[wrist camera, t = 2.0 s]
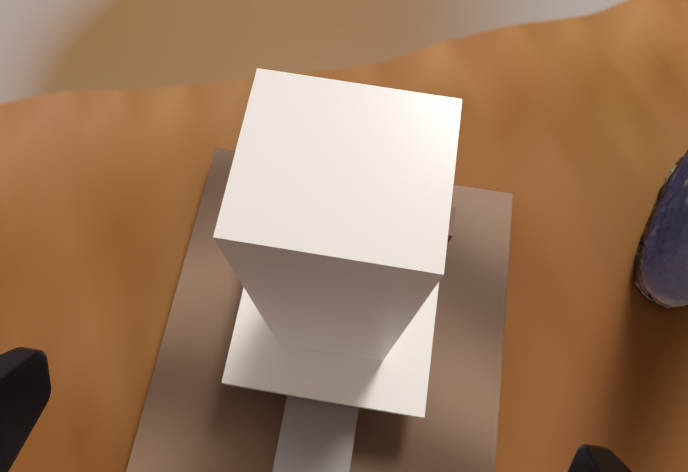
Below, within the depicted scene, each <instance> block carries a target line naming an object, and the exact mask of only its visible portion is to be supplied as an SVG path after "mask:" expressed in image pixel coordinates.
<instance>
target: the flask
mask: <svg viewBox="0 0 688 472" xmlns="http://www.w3.org/2000/svg"><path fill="white" fill-rule="evenodd" d="M677 163H678V164H677V165H676V166H675V167H674V168H672V169H671V173H669V175H668V176H667V180H666V182H665V184H663V186H662V187H661V189H660V192H661V193H660V195H659V198H658V201H657V202H656V204H655V205H654V208H653V211H652V214H651V216H650V217H649V221H648V222H647V228H646V229H645V231H644V234H642V236H643V237H642V238H641V243H640V246H639V248H638V250H637V254H636V255H635V256H636V259H635V262H636V265H635V271H634V272H635V273H634V277H636V282H635V284H636V285H637V287H638V288H639V289H640V291H641V293H642V294H643V295H644V296H645V297H646V298H647V299H649V300H651V301H653V300H654V301H655V303H656V304H658V305H661V306H664V307H666V308H672V307H682V306H685V305H688V150H687V151H686V153H685V154H684V155H683V156H682V157H681V158H679V160H678V161H677ZM647 292H648V293H649V294H650V295H651V296H652V297H651V298H652V299H653V300H652V299H651V298H649V296H648V293H647ZM654 301H653V302H654Z"/></svg>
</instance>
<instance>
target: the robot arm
mask: <svg viewBox="0 0 688 472" xmlns="http://www.w3.org/2000/svg"><path fill="white" fill-rule="evenodd" d="M50 393H51V383H50V376H49V369H48V362H47V356H46V354H45V353H44V352H43V351H41V350H37V349H31V348H25V347H18V348H15V349H13V350H10V351H8V352H6V353H3V354H1V355H0V472H8V471H9V470H10V468H11V466H12V464H13V463H14V461H15V459H16V457H17V455H18V454H19V452H20V450H21V448H22V447H23V445H24V443H25V441H26V440H27V438H28V436H29V434H30V433H31V431H32V429H33V427H34V425H35V424H36V422H37V420H38V418H39V417H40V415H41V413H42V411H43V410H44V408H45V406H46V404H47V402H48V400H49V397H50ZM568 472H632V471H631V470H630V469H629V468H628V467H627V466H626V465H625V464H624V463H623V462H622V461H621V460H620V459H619V458H618V457H617V456H616V455H615V454H614V453H613V452H611V451H610V450H609V449H607V448H605V447H600V446H594V445H588V444H583V445H581V446H580V447H579V448H578V449H577V451H576V454H575V456H574V458H573V460H572V463H571V465H570V467H569V470H568Z"/></svg>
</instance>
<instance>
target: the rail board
mask: <svg viewBox="0 0 688 472" xmlns="http://www.w3.org/2000/svg"><path fill="white" fill-rule="evenodd" d="M234 155H235V151H234V150H228V149H222V148H215V151H214V155H213V159H212V162H211V166H210V170H209V173H208V177H207V180H206V184H205V188H204V191H203V195H202V198H201V202H200V206H199V209H198V213H197V217H196V220H195V224H194V227H193V231H192V235H191V238H190V242H189V246H188V249H187V253H186V256H185V260H184V264H183V267H182V271H181V274H180V278H179V282H178V285H177V289H176V293H175V296H174V300H173V303H172V307H171V311H170V314H169V318H168V322H167V325H166V329H165V332H164V336H163V340H162V343H161V347H160V350H159V354H158V358H157V361H156V365H155V369H154V372H153V376H152V379H151V383H150V387H149V390H148V394H147V397H146V401H145V405H144V408H143V412H142V416H141V419H140V423H139V426H138V430H137V434H136V437H135V441H134V445H133V448H132V452H131V455H130V459H129V463H128V466H127V470H126V472H495V465H496V449H497V434H498V418H499V402H500V387H501V371H502V355H503V339H504V324H505V308H506V292H507V277H508V261H509V245H510V230H511V214H512V198H513V194H510V193H503V192H497V191H491V190H484V189H478V188H471V187H465V186H459V185H453V193H452V202H451V212H450V221H449V231H448V240H447V250H446V259H445V269H444V275H443V277H442V278H441V280H440V281H439V288H438V297H437V306H436V316H435V325H434V334H433V343H432V353H431V362H430V371H429V381H428V390H427V399H426V408H425V418H416V417H410V416H404V415H398V414H393V413H387V412H381V411H375V410H369V409H364V408H358V407H352V406H346V405H340V404H335V403H329V402H323V401H317V400H311V399H306V398H300V397H294V396H288V395H282V394H277V393H271V392H265V391H259V390H253V389H248V388H242V387H236V386H230V385H225V384H223V383H221V382H222V378H223V374H224V369H225V365H226V361H227V357H228V352H229V348H230V344H231V339H232V335H233V331H234V327H235V322H236V318H237V314H238V309H239V305H240V301H241V297H242V292H243V288H244V287H243V285H242V283H241V282H240V280H239V279H238V277H237V275H236V274H235V272H234V270H233V269H232V267H231V266H230V264H229V262H228V261H227V259H226V258H225V256H224V254H223V253H222V251H221V249H220V248H219V246H218V245H217V243H216V241H215V240H214V238H213V235H214V231H215V228H216V224H217V220H218V216H219V212H220V209H221V205H222V201H223V197H224V193H225V189H226V186H227V182H228V178H229V174H230V170H231V166H232V163H233V159H234Z"/></svg>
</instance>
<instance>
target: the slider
mask: <svg viewBox="0 0 688 472" xmlns="http://www.w3.org/2000/svg"><path fill="white" fill-rule="evenodd" d="M461 107H462V99H458V98H452V97H445V96H438V95H432V94H425V93H418V92H412V91H405V90H398V89H392V88H385V87H378V86H372V85H365V84H359V83H352V82H345V81H339V80H332V79H325V78H319V77H312V76H305V75H299V74H292V73H285V72H279V71H272V70H265V69H259V68H257V71H256V75H255V79H254V82H253V86H252V90H251V94H250V98H249V101H248V105H247V109H246V113H245V117H244V121H243V124H242V128H241V132H240V136H239V140H238V144H237V147H236V151H235V155H234V159H233V163H232V166H231V170H230V174H229V178H228V182H227V186H226V189H225V193H224V197H223V201H222V205H221V209H220V212H219V216H218V220H217V224H216V228H215V231H214V235H213V238H214V240H215V241H216V243H217V245H218V246H219V248H220V249H221V251H222V253H223V254H224V256H225V258H226V259H227V261H228V262H229V264H230V266H231V267H232V269H233V270H234V272H235V274H236V275H237V277H238V279H239V280H240V282H241V283H242V285H243V287H244V288H243V292H242V297H241V301H240V305H239V309H238V314H237V318H236V322H235V327H234V331H233V335H232V339H231V344H230V348H229V352H228V357H227V361H226V365H225V369H224V374H223V378H222V382H221V383H223V384H225V385H230V386H236V387H242V388H248V389H253V390H259V391H265V392H271V393H277V394H282V395H288V396H294V397H300V398H306V399H311V400H317V401H323V402H329V403H335V404H340V405H346V406H352V407H358V408H364V409H369V410H375V411H381V412H387V413H393V414H398V415H404V416H410V417H416V418H425V408H426V399H427V390H428V381H429V371H430V362H431V353H432V343H433V334H434V325H435V316H436V306H437V297H438V288H439V281H440V280H441V278H442V277H443V275H444V269H445V259H446V250H447V240H448V231H449V221H450V212H451V202H452V193H453V183H454V174H455V164H456V155H457V145H458V136H459V126H460V117H461Z"/></svg>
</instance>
